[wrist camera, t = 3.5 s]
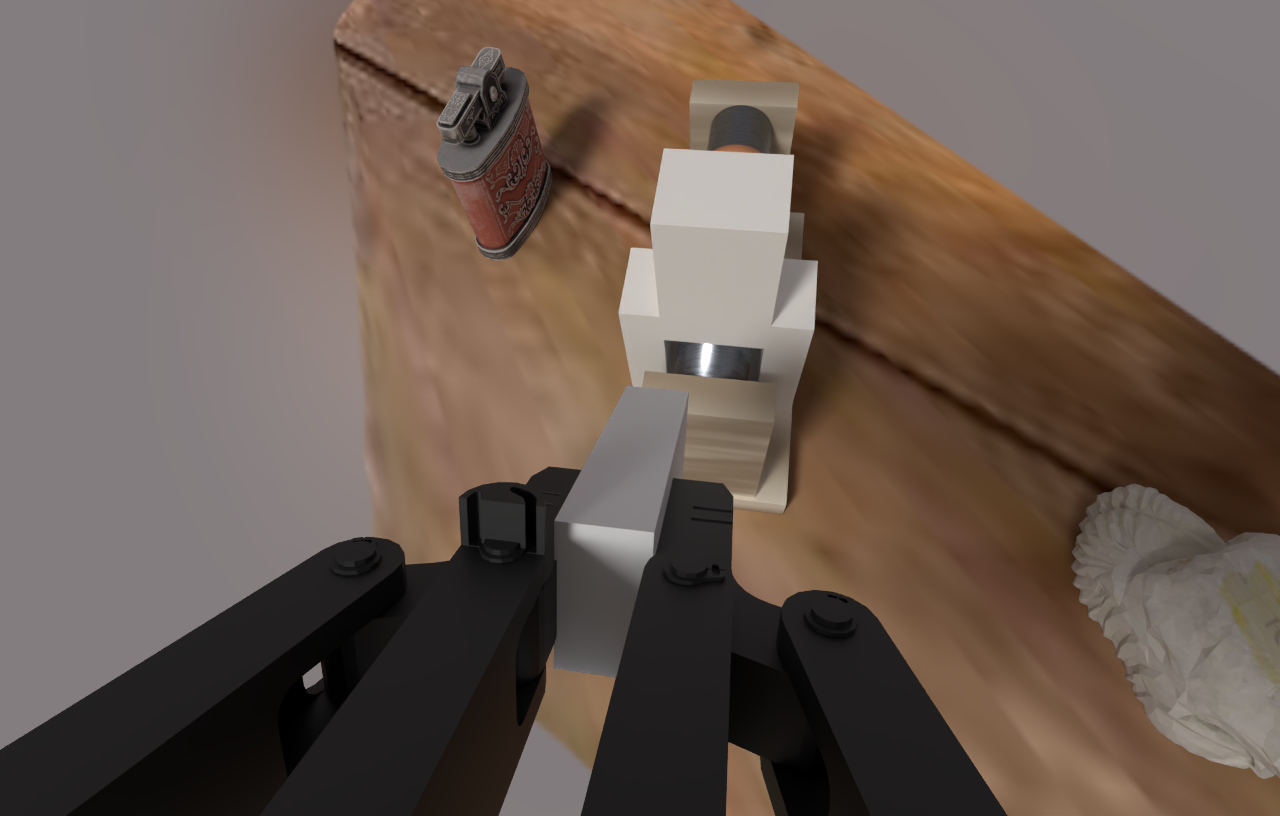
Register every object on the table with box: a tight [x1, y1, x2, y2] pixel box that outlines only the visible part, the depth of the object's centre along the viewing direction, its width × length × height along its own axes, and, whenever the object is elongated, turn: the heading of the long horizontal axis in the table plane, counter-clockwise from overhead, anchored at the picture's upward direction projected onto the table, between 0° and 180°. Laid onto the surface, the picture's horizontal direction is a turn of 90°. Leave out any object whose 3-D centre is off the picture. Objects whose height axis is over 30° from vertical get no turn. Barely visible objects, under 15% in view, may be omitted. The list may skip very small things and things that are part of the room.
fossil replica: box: [1071, 484, 1280, 779], centre depth 26 cm, size 12×8×10 cm
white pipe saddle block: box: [619, 148, 818, 413], centre depth 25 cm, size 3×7×12 cm, turn 81°
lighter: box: [437, 47, 552, 261], centre depth 39 cm, size 8×3×10 cm, turn 161°
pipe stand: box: [642, 79, 804, 514], centre depth 33 cm, size 18×8×11 cm, turn 171°
